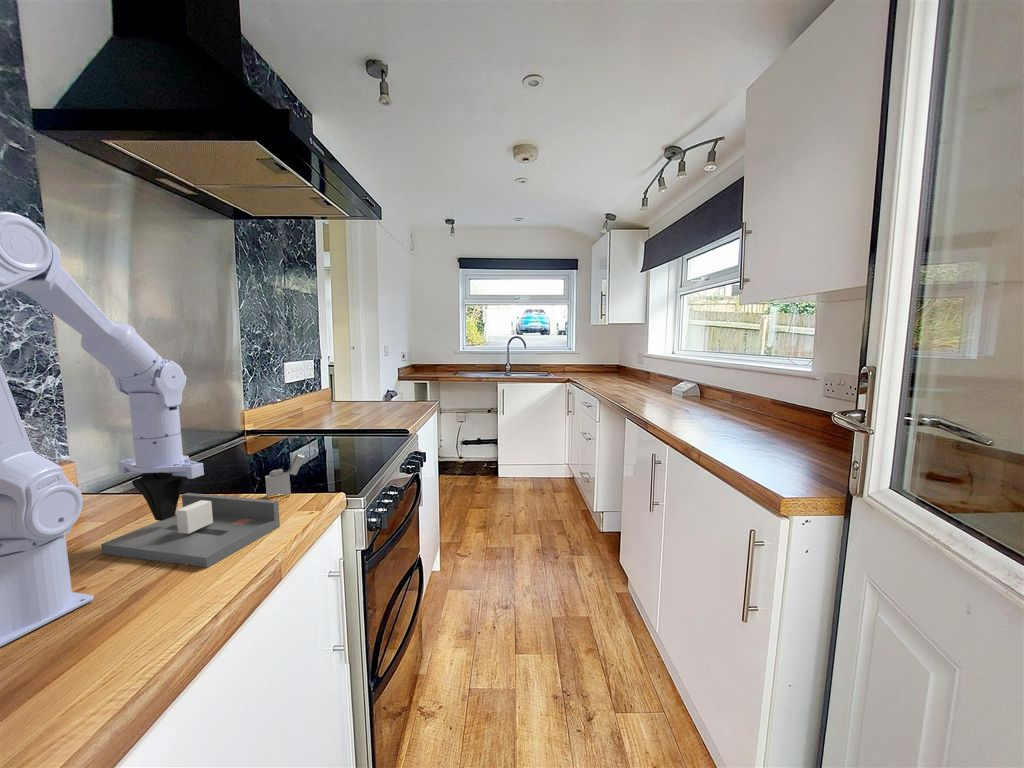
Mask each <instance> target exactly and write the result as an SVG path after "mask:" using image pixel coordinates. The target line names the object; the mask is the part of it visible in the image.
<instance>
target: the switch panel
mask: <svg viewBox="0 0 1024 768" xmlns="http://www.w3.org/2000/svg"><path fill="white" fill-rule="evenodd" d="M201 500H204V501H211V503H212V516H213V523H211V524H209V525H207V526H205V527H202V528H200V529H198V530H196V531H194V532H192V533H189V534H186V533H178V526H177V515H176V513H175V516H173V517H171V518H168V519H166V520H163V521H159V520H157V521H156V522H153V523H151V524H148V525H146V526H143V527H140V528H139V529H136V530H133V531H131V532H128V533H125V534H123V535H120V536H118V537H115V538H113V539H111V540H108V541H106V542H103V543H101V544H100V546H101V554H102V555H108V556H109V555H110V556H115V557H124V558H129V559H130V558H131V559H137V558H140V559H139V560H144V559H147V560H146V561H151V560H152V561H153V562H159V561H161V562H160V563H166V562H170V563H169V564H173V563H178V564H177V565H181V564H187V565H186V566H188V565H194V566H193V567H196V566H198V567H197V568H204V569H208V568H209V567H211V566H213V565H215V564H216V563H219V562H220V561H222V560H224V559H225V558H227V557H229V556H231V555H232V554H234V553H236V552H238V551H239V550H241V549H243V548H245V547H247V546H249V545H250V544H252V543H253V542H255V541H257V540H259V539H260V538H262V537H264V536H266V535H268V534H270V533H271V532H273V531H274V530H276V529H278V528H280V527H281V525H280V523H281V521H280V507H279V500H270V499H262V498H252V497H251V498H249V497H237V496H228V495H219V494H218V495H216V494H215V495H214V494H204V493H194V492H193V493H192V492H186V493H183V494H181V502H182V504H181V505H182V508H183V507H185V506H188V505H190V504H193V503H195V502H198V501H201ZM152 561H151V562H152Z"/></svg>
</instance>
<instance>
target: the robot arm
mask: <svg viewBox="0 0 1024 768" xmlns="http://www.w3.org/2000/svg"><path fill="white" fill-rule="evenodd" d="M60 250H61V249H60V248H59V247H58V246H57V245H56V244H55V243H54V242H52V241H51V240H50V239H49V238H48V237H47V236H46V234H45V233H44V231H43V230H42V229H41V228H40V227H39V226H38V225H37V224H36V223H35V222H34V221H32V220H30V219H29V218H27V217H25V216H23V215H21V214H18V213H15V212H10V211H0V292H3V291H5V290H8V289H9V290H13V291H19V292H22V293H24V294H25V295H27V296H29V297H30V298H31V299H32V300H34V301H35V302H36V303H38V304H39V305H40V306H42V307H43V308H45V309H46V310H47V311H49V312H50V313H51V314H52V315H54V316H55V317H57V318H58V319H60V320H61V321H62V322H64V323H65V324H67V325H68V326H69V328H72V329H73V330H75V331H76V332H77V333H78V334H79V335H81V339H80V345H81V346H80V347H81V348H82V350H83V351H85V352H86V353H87V354H89V355H90V356H91V357H93V358H94V359H95V360H96V361H97V362H99V363H100V364H101V365H102V366H104V367H105V368H106V369H107V370H108V371H109V373H110V375H111V377H113V380H114V384H115V387H116V388H117V390H118V392H120V393H123V394H124V395H126V396H128V402H129V412H130V422H131V432H132V433H131V434H132V442H133V452H134V458H133V457H131V458H127V459H123V460H120V461H119V460H118V461H117V465H118V473H119V474H127V473H138V474H142V475H141V476H140V477H139V478H135V479H133V480H131V483H132V486H133V487H135V489H136V490H138V492H139V493H140V494H141V496H142V497H143V498H144V500H145V501H146V504H147V505H148V506H149V509H150V511H151V514H152V515H153V518H154V520H155V521H163V520H166V519H168V518H171V517H173V516H175V514H176V510H177V508H178V503H179V500H180V496H181V492H182V491H183V488H184V487H185V485H186V483H187V481H188V479H189V480H190V479H191V480H192V479H196V478H198V477H201V476H204V475H205V472H204V463H203V462H197V461H193V460H190V457H189V455H184V453H183V442H182V441H183V440H182V439H183V438H182V431H181V429H182V428H181V420H180V417H181V416H180V407H179V406H180V405H181V404H182V401H183V390H184V389H185V387H186V384H187V375H185V373H184V370H183V368H182V366H180V365H179V364H178V363H176V362H175V361H174V360H171V359H167V358H166V359H165V358H164V359H163V357H162V356H161V355H160V354H159V353H158V352H156V350H155V349H153V347H152V346H151V345H149V343H147V342H146V340H144V339H143V338H142V337H141V336H140V335H139V334H138V333H137V330H136V329H135V327H133V326H132V325H131V324H128V323H126V322H123V321H118V320H116V321H115V320H114V321H113V320H110V319H109V317H108V316H107V315H106V314H105V312H104V311H102V310H101V309H100V307H99V306H98V305H97V304H96V303H95V302H94V301H93V299H92V298H91V297H90V296H89V295H88V294H87V293H86V291H84V289H82V287H81V286H80V285H79V284H78V283H77V282H76V281H75V280H74V278H73V277H72V276H71V275H70V274H69V273H68V272H67V271H66V270H65V269H64V267H63V266H62V264H61V260H62V258H61V257H62V256H61V251H60ZM8 383H9V382H8V380H7V378H6V375H5V372H4V370H3V368H2V364H0V648H1V647H2V646H5V645H7V644H9V643H11V642H12V641H15V640H16V639H19V638H21V637H22V636H24V635H27V634H28V633H30V632H32V631H34V630H37V629H38V628H40V627H43V626H45V625H46V624H48V623H50V622H53V621H54V620H56V619H59V618H60V617H62V616H65V615H66V614H68V613H71V612H72V611H74V610H76V609H78V608H80V607H82V606H84V605H86V604H88V603H91V602H92V601H93V600H94V599H95V596H94V595H92V594H86V593H80V592H74V591H73V589H72V581H71V571H70V563H69V557H68V556H69V555H68V546H67V539H66V538H67V537H66V535H67V534H69V533H71V532H72V527H73V526H74V525H75V524H76V523H77V521H78V520H79V518H80V516H81V514H82V510H83V506H84V500H83V499H84V498H83V494H82V491H80V489H79V487H77V486H76V485H75V483H74V484H73V483H72V482H70V480H69V479H68V478H67V476H66V474H65V471H64V469H63V467H62V466H61V465H59V464H57V463H55V462H54V461H52V460H50V459H47V458H46V457H44V456H42V455H40V454H39V453H37V452H35V451H34V449H33V446H32V444H31V441H30V439H29V436H28V433H27V431H26V428H25V426H24V423H23V421H22V418H21V416H20V413H19V409H18V406H17V404H16V402H15V399H14V397H13V393H12V390H11V389H10V387H9V384H8Z"/></svg>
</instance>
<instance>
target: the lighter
mask: <svg viewBox="0 0 1024 768" xmlns="http://www.w3.org/2000/svg"><path fill="white" fill-rule="evenodd" d="M304 460H305V455H304V454H301V453H297V452H296V453H295V456H294V458H293V460H292V463H291V464H290V467H289V469H288V471H287V472H284V470H283V468H279V469H273V470H271V471H270V472H269V475H265V476H264V478H265V479H264V480H265V488H266V489H265V490H266V492H265V493H266V498H267V497H269V496H272V495H278V494H289V493H292V492H291V491H292V490H291V480H290V479H291V477H290V475H293V476H297V474H298V472H299V470H300V467H302V466H301V465H302V463H303V461H304ZM289 495H290V494H289Z"/></svg>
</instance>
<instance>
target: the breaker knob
mask: <svg viewBox="0 0 1024 768" xmlns="http://www.w3.org/2000/svg"><path fill="white" fill-rule="evenodd" d="M175 514H176V515H177V526H178V533H186V534H189V533H192V532H194V531H196V530H198V529H200V528H202V527H205V526H207V525H209V524H211V523H213V516H212V503H211V501H204V500H201V501H198V502H195V503H193V504H190V505H188V506H185V507H183V506H182V507H180V508H179V509H176V512H175Z"/></svg>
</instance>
